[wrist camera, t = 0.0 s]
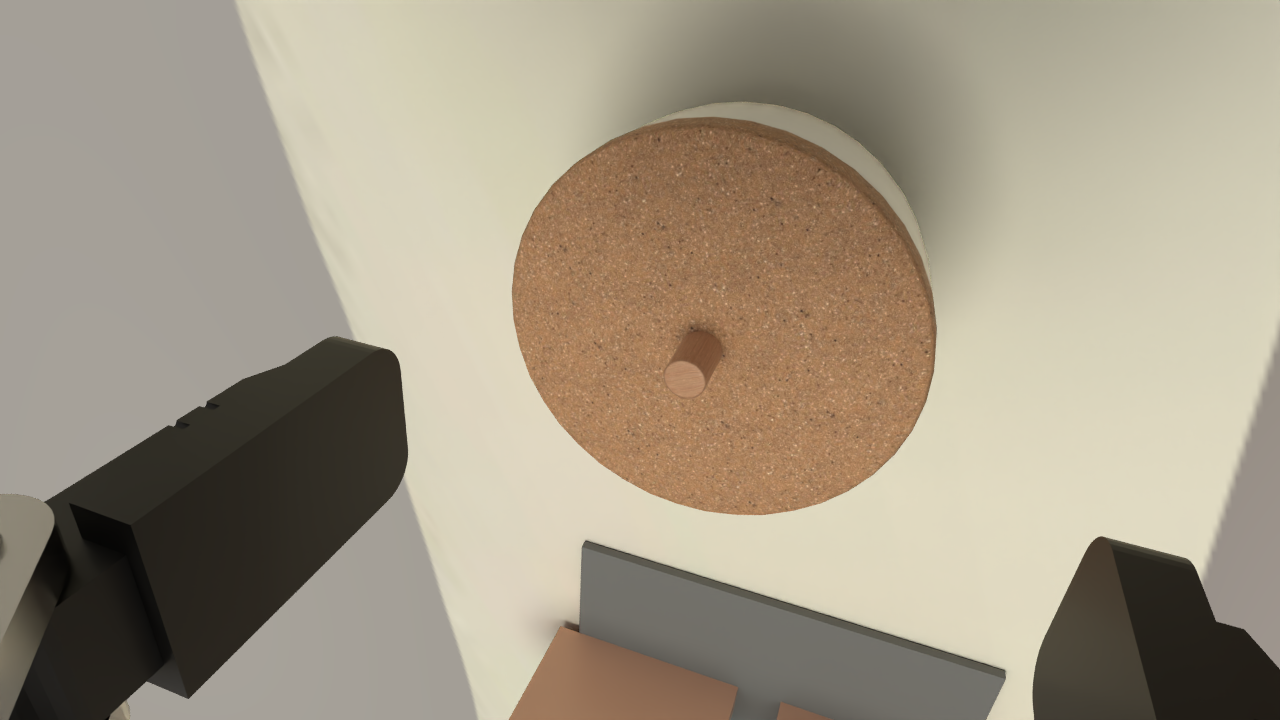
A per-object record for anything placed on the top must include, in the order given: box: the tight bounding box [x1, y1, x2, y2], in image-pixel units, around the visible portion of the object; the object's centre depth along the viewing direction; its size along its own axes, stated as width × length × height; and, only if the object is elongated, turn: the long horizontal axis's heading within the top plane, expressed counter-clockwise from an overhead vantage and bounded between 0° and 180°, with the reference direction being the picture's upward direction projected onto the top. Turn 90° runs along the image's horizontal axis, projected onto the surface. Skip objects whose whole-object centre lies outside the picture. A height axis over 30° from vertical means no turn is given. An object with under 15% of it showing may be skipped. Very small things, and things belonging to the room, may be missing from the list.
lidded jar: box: [512, 101, 937, 515], centre depth 22 cm, size 11×11×9 cm
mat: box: [579, 541, 1006, 720], centre depth 37 cm, size 16×18×1 cm
